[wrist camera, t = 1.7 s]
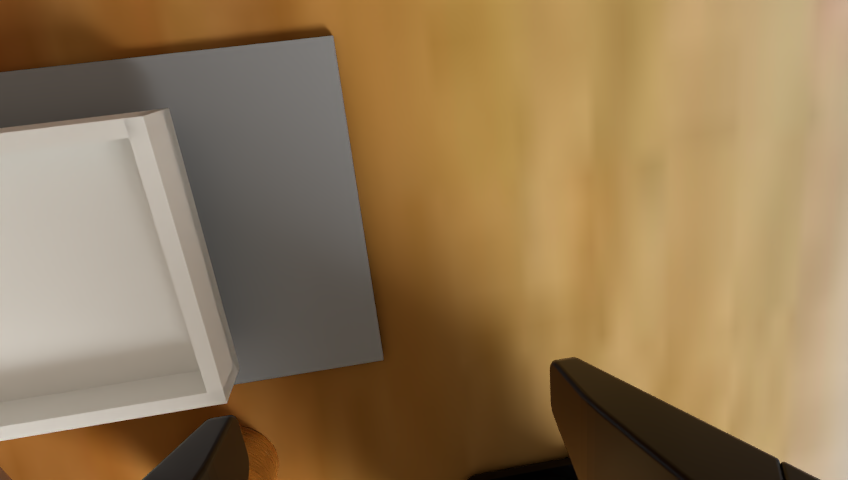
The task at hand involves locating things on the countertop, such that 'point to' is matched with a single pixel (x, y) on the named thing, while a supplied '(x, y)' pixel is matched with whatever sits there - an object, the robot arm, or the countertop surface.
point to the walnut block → (4, 475)
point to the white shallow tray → (104, 278)
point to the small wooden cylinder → (260, 455)
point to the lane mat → (249, 186)
